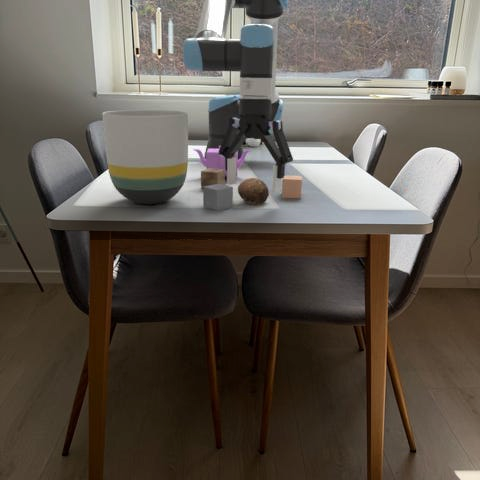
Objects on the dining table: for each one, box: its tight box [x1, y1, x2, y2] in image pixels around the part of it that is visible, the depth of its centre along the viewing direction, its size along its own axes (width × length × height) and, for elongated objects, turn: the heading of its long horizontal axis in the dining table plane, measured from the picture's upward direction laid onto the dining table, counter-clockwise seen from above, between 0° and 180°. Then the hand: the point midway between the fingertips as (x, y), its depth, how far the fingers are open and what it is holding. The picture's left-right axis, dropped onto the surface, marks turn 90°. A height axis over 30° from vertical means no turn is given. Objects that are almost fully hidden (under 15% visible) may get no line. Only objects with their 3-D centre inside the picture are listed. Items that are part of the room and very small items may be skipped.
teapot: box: [192, 146, 252, 180], centre depth 142 cm, size 18×13×10 cm
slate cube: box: [202, 184, 234, 212], centre depth 110 cm, size 5×5×5 cm
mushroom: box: [237, 177, 270, 206], centre depth 115 cm, size 8×8×6 cm
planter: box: [101, 109, 189, 205], centre depth 111 cm, size 20×20×21 cm
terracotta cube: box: [281, 175, 303, 199], centre depth 122 cm, size 5×5×5 cm
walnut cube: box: [200, 168, 226, 190], centre depth 129 cm, size 5×5×5 cm
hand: (253, 187), depth 114 cm, fingers open, 13 cm apart
